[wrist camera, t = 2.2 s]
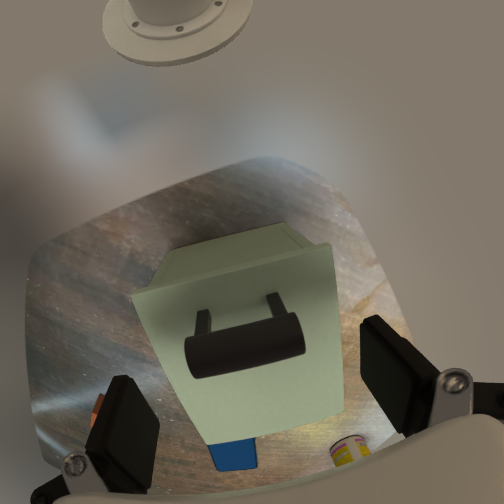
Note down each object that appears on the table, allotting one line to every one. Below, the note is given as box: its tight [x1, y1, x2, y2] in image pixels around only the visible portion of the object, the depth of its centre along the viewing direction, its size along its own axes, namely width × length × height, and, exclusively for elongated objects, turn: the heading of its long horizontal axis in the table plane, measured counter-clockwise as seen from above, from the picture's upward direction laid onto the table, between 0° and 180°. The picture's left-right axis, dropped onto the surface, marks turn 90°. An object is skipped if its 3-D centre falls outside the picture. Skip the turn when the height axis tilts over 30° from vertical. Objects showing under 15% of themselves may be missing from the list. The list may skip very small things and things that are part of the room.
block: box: [91, 394, 105, 427], centre depth 30 cm, size 4×4×4 cm
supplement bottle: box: [331, 436, 371, 467], centre depth 34 cm, size 7×7×13 cm
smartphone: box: [207, 437, 258, 472], centre depth 36 cm, size 7×1×15 cm
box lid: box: [131, 243, 344, 445], centre depth 15 cm, size 15×12×6 cm
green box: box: [148, 222, 315, 287], centre depth 24 cm, size 14×12×12 cm
